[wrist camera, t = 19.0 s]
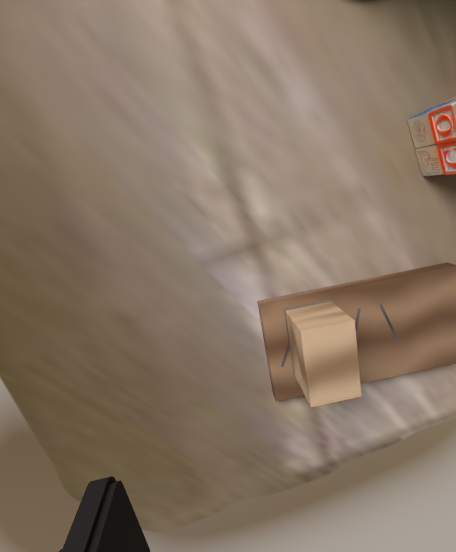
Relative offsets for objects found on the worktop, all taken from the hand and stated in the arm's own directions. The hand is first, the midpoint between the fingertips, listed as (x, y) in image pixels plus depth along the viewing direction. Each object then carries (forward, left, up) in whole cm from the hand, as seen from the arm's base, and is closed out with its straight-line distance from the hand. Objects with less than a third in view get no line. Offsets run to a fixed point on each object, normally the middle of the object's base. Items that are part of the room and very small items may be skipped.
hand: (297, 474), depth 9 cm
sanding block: (+10, +8, -25) cm, 28 cm away
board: (+11, +14, -27) cm, 32 cm away
